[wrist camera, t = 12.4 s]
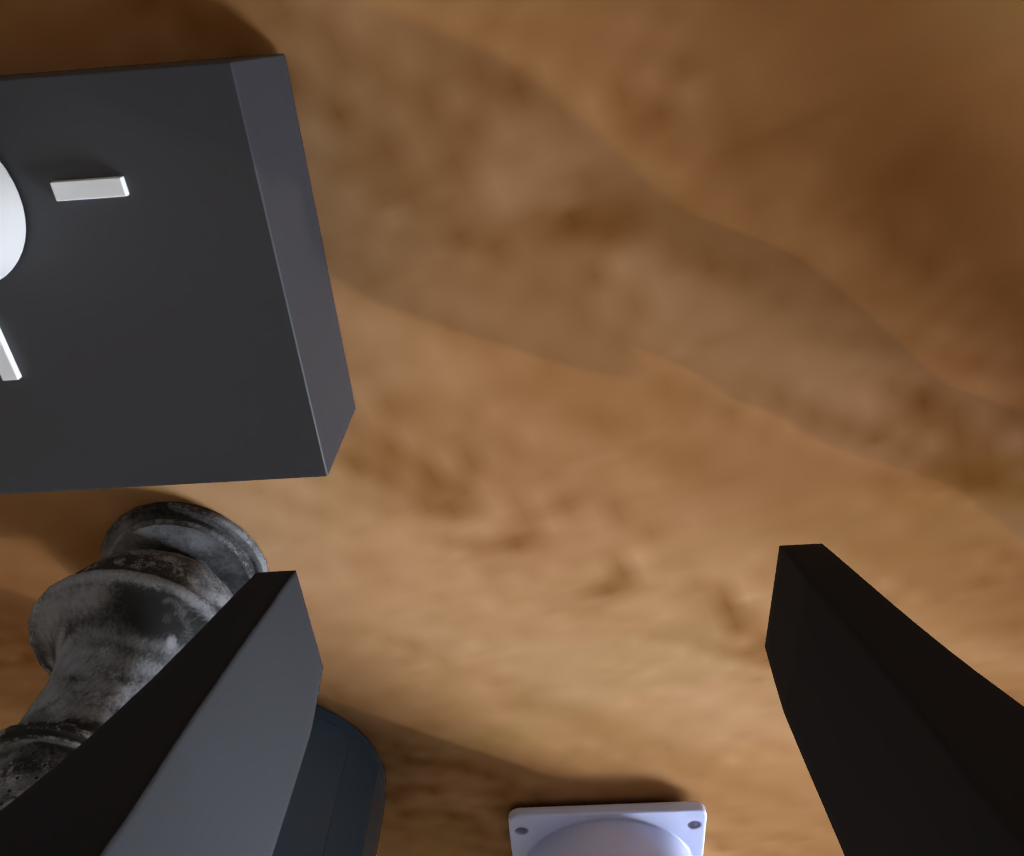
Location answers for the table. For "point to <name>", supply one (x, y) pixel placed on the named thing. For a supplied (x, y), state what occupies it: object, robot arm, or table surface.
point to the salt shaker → (121, 626)
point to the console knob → (10, 223)
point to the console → (165, 282)
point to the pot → (334, 794)
